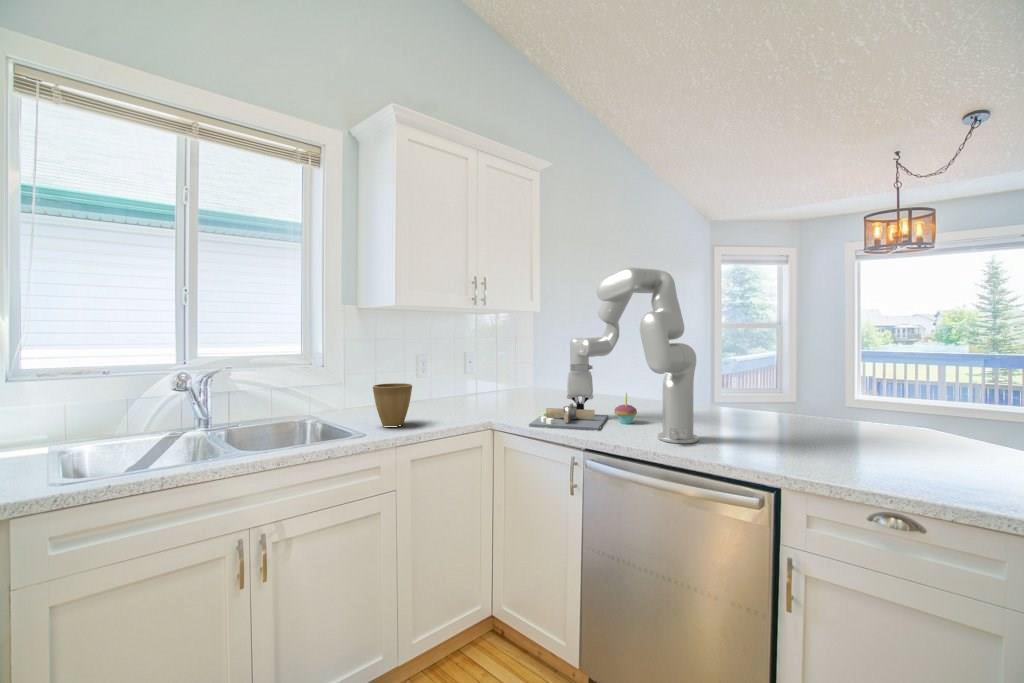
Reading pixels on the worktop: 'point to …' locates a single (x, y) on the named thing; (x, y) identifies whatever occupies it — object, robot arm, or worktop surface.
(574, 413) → the tan cross shape
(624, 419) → the cupcake
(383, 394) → the plant pot
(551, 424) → the stand
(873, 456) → the worktop surface
